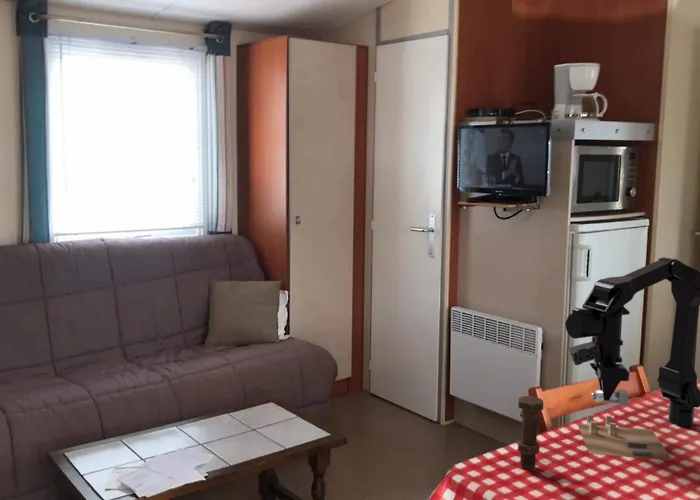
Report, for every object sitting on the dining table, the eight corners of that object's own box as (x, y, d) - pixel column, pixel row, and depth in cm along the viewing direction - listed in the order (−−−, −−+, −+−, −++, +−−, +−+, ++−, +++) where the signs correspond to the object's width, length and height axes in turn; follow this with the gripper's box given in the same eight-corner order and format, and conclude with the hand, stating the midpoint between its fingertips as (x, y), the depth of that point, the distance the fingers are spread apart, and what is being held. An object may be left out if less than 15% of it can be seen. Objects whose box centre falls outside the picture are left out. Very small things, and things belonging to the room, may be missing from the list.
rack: (586, 424, 174) (587, 413, 174) (610, 426, 173) (611, 415, 173) (590, 433, 168) (591, 422, 168) (615, 435, 167) (616, 424, 167)
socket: (627, 444, 162) (627, 440, 162) (645, 446, 161) (646, 442, 161) (632, 454, 156) (633, 450, 156) (651, 456, 156) (652, 452, 155)
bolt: (540, 473, 148) (544, 405, 146) (515, 471, 149) (519, 403, 147) (538, 462, 154) (542, 396, 152) (515, 459, 155) (518, 394, 153)
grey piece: (624, 401, 167) (625, 389, 166) (627, 405, 164) (628, 393, 164) (590, 399, 168) (590, 388, 167) (592, 403, 165) (592, 392, 165)
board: (577, 427, 174) (577, 423, 174) (651, 432, 171) (651, 429, 171) (589, 456, 157) (589, 453, 157) (672, 463, 154) (672, 460, 154)
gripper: (566, 323, 174) (564, 383, 176) (579, 343, 156) (576, 410, 158) (613, 324, 172) (610, 386, 175) (631, 345, 154) (627, 413, 156)
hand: (604, 398), depth 166 cm, fingers closed on grey piece, 3 cm apart
